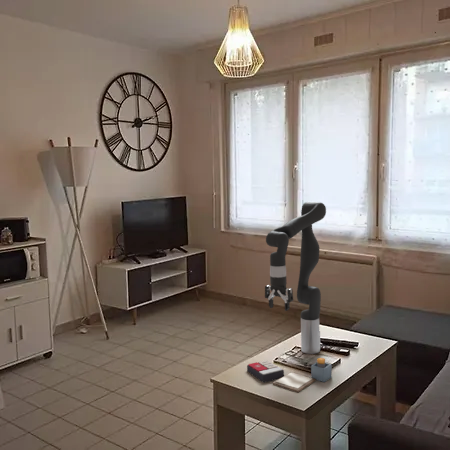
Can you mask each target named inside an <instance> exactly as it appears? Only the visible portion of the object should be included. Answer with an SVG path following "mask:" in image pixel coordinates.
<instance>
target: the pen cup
mask: <svg viewBox="0 0 450 450" xmlns="http://www.w3.org/2000/svg"><path fill="white" fill-rule="evenodd" d="M310 370H311V372H310V373H311V375H310V378H314V379H316V381H318V382H322V383H325V382H328V381H329V380H330V379H331V378H332V364H331V363H328V362H325V368H320V367H317V361H316V362H315V363H313V364H311V367H310Z"/></svg>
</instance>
